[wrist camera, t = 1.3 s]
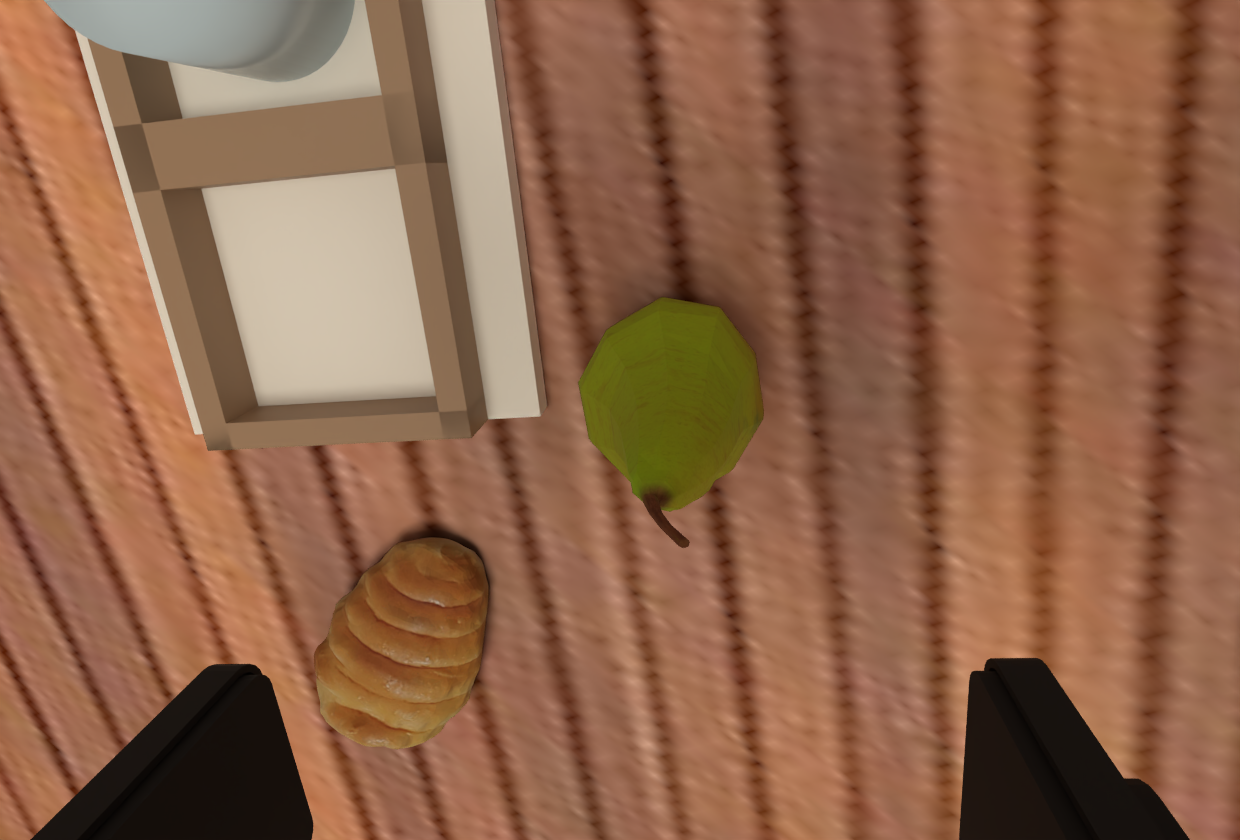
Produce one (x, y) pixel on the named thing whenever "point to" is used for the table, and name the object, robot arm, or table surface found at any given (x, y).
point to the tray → (335, 233)
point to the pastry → (404, 645)
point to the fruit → (672, 402)
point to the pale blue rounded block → (218, 32)
